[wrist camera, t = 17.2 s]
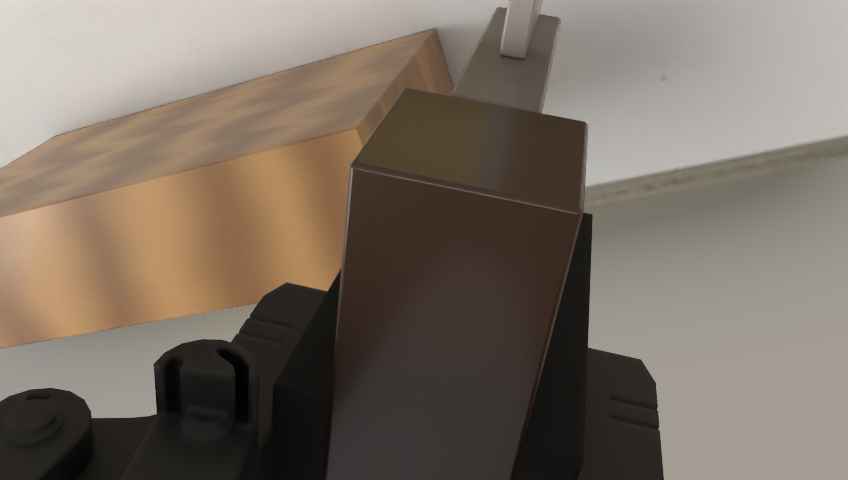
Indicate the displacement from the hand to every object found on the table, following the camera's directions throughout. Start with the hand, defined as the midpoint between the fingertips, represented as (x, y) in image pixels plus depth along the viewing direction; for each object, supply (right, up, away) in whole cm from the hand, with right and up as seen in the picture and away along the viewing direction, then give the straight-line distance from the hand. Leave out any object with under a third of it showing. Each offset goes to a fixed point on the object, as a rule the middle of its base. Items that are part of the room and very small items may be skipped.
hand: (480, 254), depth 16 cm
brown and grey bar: (+1, +6, -3) cm, 7 cm away
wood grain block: (-11, +6, +28) cm, 30 cm away
